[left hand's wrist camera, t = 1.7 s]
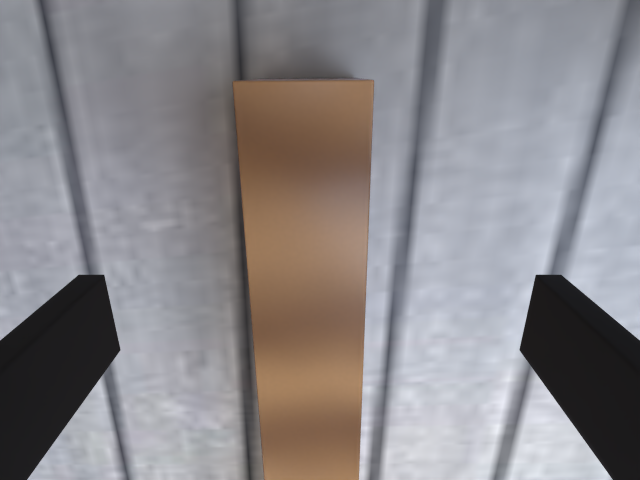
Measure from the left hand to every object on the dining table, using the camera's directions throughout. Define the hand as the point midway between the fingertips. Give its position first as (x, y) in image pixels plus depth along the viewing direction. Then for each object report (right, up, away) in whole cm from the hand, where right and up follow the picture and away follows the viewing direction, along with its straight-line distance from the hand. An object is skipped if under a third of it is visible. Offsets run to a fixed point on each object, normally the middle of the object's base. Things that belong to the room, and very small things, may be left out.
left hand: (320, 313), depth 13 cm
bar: (0, -14, +21) cm, 25 cm away
